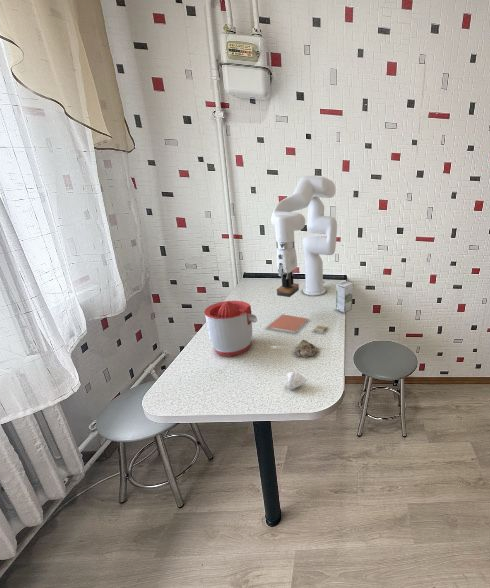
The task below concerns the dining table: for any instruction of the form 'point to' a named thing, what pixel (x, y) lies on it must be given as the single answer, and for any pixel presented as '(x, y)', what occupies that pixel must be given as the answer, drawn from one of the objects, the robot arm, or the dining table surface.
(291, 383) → the garlic bulb
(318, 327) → the cork chip
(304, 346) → the mineral rock
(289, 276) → the brush
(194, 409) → the dining table surface
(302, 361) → the dining table surface
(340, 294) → the syrup box
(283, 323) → the tile
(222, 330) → the citrus juicer
